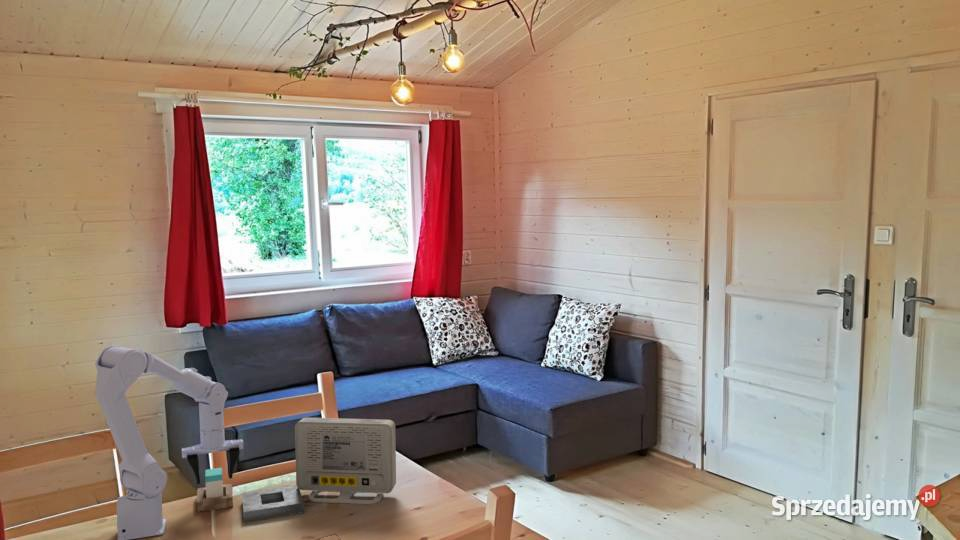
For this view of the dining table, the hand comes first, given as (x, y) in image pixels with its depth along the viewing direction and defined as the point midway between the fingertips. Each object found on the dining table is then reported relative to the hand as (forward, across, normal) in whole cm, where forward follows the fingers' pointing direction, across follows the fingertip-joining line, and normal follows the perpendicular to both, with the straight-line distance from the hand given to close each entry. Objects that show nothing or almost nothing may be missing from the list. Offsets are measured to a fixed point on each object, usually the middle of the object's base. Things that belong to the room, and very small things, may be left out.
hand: (214, 479), depth 175 cm
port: (+6, +12, -10) cm, 17 cm away
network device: (+6, +31, -12) cm, 34 cm away
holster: (+6, 0, 0) cm, 6 cm away
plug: (+6, 0, 0) cm, 6 cm away
